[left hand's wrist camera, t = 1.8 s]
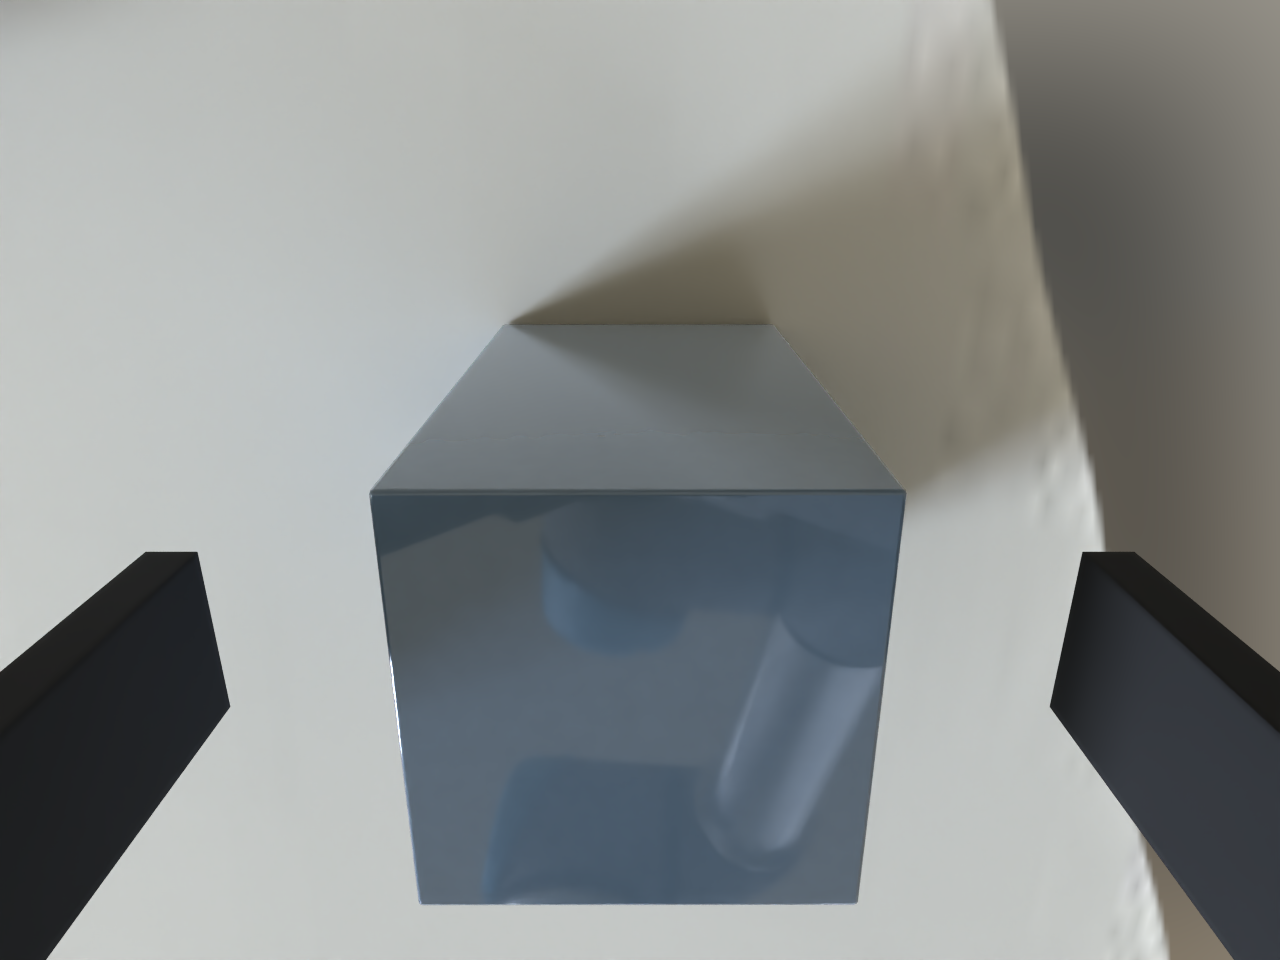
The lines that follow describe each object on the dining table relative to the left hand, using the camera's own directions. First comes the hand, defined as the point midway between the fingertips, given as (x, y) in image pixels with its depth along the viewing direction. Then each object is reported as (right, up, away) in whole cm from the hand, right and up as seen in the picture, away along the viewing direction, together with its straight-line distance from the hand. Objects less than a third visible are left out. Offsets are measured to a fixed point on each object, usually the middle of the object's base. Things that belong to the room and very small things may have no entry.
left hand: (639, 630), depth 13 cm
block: (0, +3, +8) cm, 9 cm away
